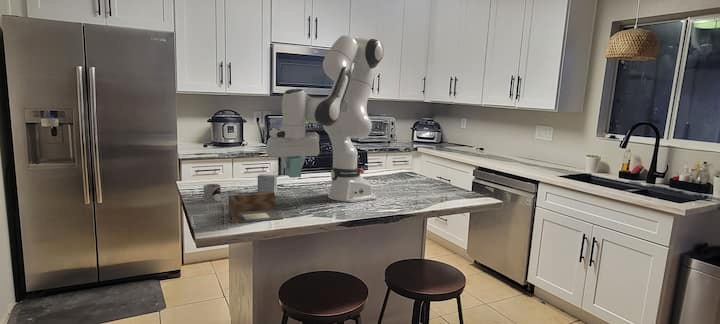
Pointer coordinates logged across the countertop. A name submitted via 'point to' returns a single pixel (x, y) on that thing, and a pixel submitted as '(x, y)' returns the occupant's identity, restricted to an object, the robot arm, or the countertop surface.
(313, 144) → the robot arm
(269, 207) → the corner walls
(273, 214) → the mat
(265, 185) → the medicine box
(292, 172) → the teal block
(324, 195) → the countertop surface
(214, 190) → the mug
